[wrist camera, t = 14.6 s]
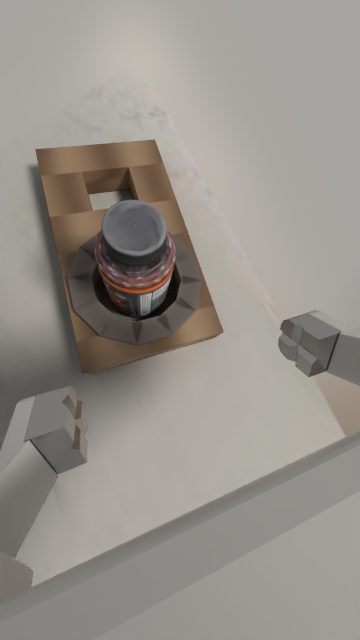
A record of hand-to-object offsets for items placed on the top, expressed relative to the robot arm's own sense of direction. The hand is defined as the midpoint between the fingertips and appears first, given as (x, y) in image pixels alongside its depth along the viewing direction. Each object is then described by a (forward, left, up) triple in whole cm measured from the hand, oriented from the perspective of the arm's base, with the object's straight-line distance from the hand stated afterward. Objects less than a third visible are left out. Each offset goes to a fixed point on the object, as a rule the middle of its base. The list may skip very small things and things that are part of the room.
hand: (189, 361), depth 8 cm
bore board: (0, +14, -15) cm, 20 cm away
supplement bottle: (0, +9, -15) cm, 17 cm away
